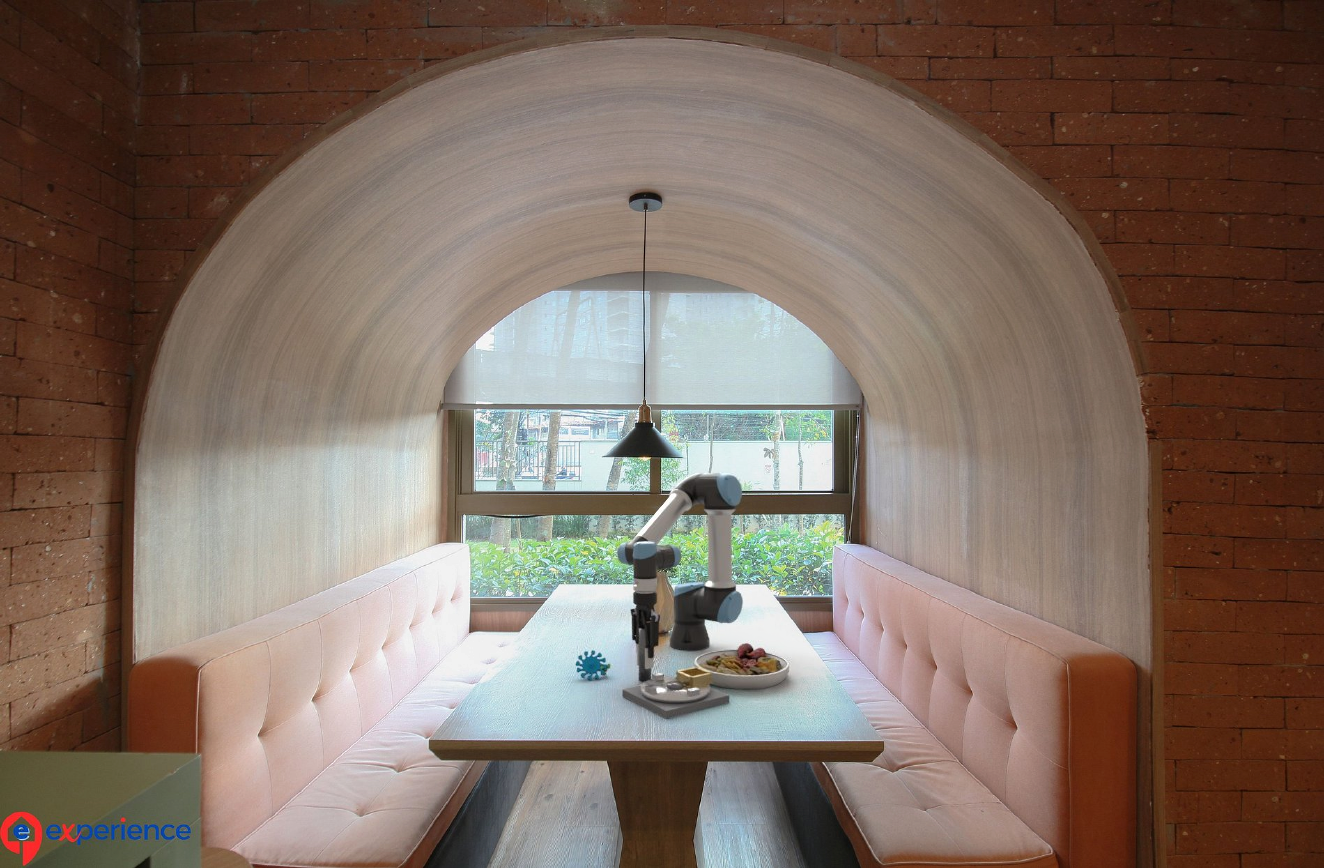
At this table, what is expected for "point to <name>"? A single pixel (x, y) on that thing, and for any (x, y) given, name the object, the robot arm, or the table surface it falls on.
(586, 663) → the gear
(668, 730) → the table surface
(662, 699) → the silver disc with box
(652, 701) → the nut plate
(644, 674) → the pin
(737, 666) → the bowl
